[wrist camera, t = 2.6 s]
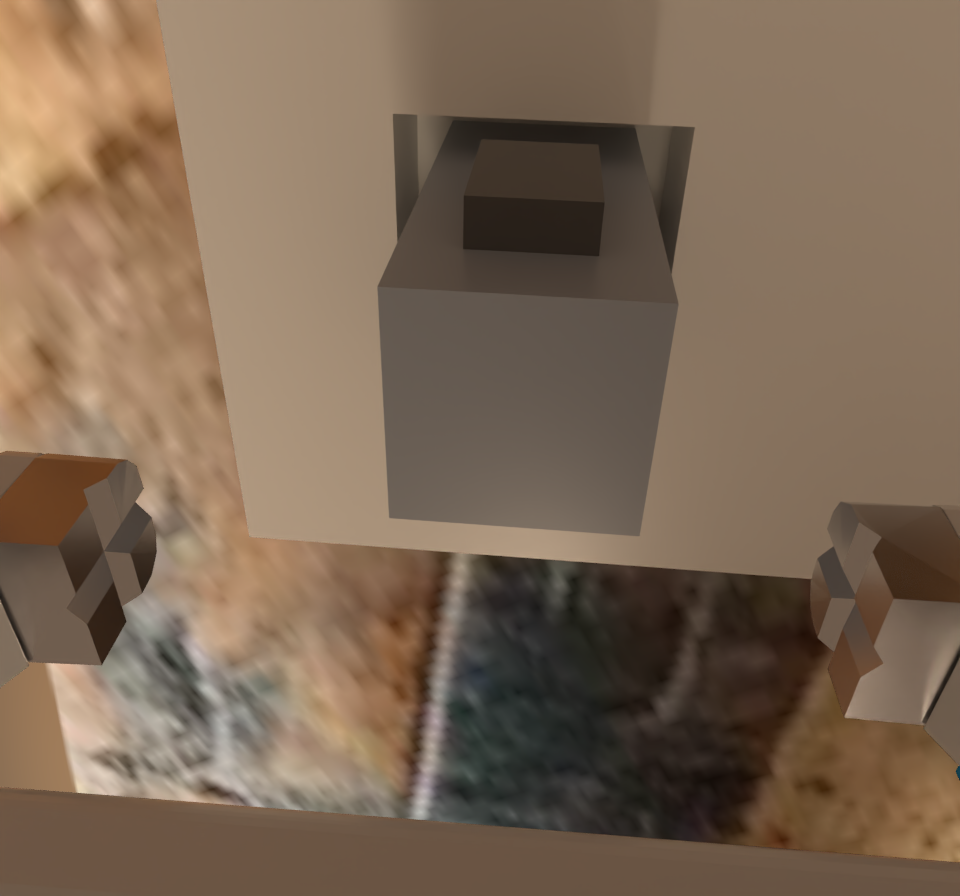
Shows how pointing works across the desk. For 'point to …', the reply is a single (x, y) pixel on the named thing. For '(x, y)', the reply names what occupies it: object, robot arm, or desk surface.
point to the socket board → (683, 223)
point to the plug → (527, 332)
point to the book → (958, 772)
